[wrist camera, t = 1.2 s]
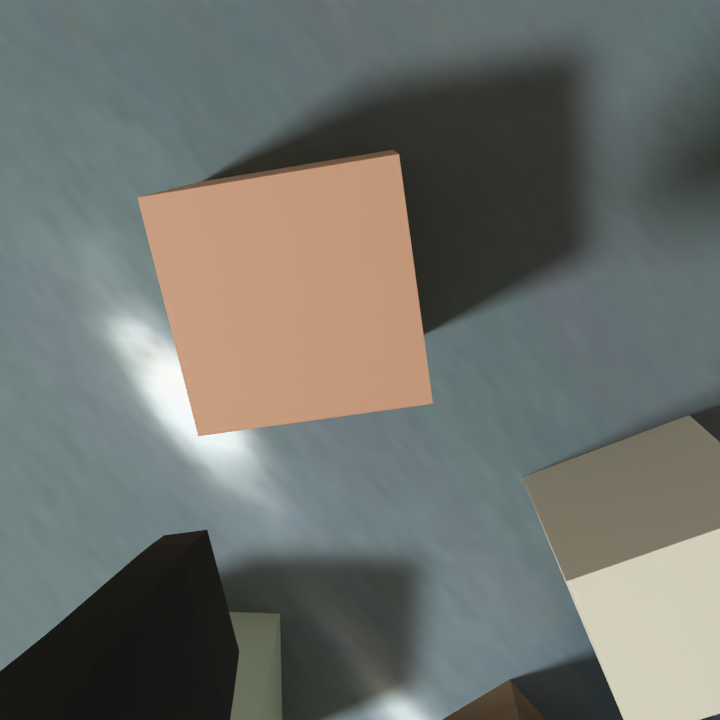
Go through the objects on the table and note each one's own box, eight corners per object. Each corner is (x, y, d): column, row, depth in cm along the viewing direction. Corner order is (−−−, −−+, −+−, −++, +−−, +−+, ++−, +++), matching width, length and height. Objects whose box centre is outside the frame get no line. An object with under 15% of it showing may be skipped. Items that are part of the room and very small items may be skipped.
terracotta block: (392, 149, 17) (399, 154, 12) (418, 336, 19) (432, 403, 14) (202, 181, 18) (137, 197, 13) (243, 361, 19) (198, 435, 14)
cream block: (687, 414, 19) (790, 504, 14) (732, 552, 21) (839, 677, 16) (521, 476, 20) (566, 581, 15) (575, 606, 21) (632, 740, 17)
